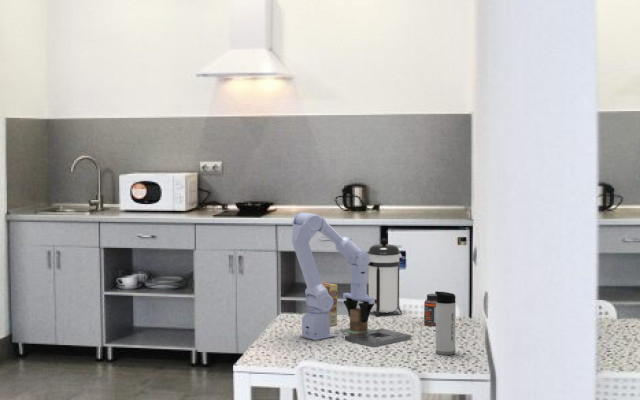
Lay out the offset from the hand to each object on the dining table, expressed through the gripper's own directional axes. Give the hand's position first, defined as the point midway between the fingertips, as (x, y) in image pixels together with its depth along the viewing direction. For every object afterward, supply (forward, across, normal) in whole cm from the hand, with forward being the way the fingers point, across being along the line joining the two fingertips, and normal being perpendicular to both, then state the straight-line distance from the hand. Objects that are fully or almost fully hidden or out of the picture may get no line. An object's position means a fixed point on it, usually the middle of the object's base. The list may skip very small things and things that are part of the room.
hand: (358, 321), depth 326 cm
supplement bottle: (+4, -9, -29) cm, 31 cm away
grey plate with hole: (+4, -14, +4) cm, 15 cm away
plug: (+3, 0, 0) cm, 3 cm away
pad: (+4, 0, 0) cm, 4 cm away
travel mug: (+4, -42, +1) cm, 42 cm away
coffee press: (+4, +18, -29) cm, 34 cm away
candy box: (+4, +18, 0) cm, 18 cm away
